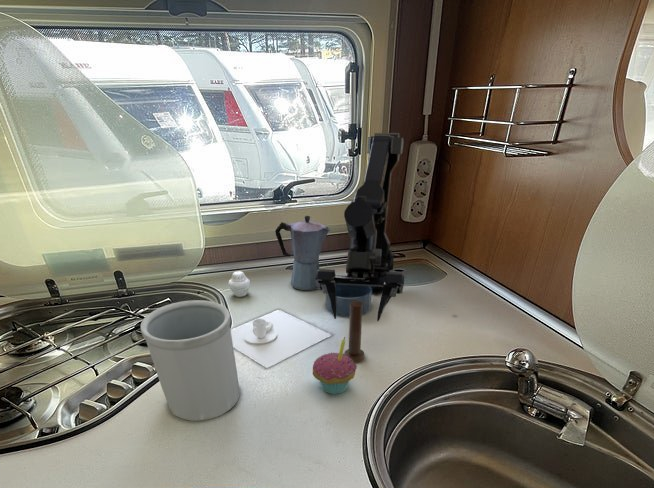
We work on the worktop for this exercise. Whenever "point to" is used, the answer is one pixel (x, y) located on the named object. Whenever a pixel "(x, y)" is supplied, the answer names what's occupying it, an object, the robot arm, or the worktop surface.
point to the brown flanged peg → (355, 332)
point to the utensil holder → (193, 357)
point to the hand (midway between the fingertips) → (356, 319)
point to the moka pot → (304, 251)
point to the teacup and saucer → (275, 337)
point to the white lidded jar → (239, 284)
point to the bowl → (350, 298)
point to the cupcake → (334, 370)
